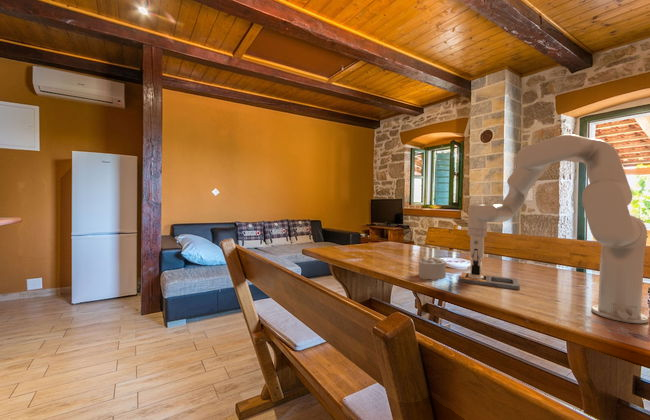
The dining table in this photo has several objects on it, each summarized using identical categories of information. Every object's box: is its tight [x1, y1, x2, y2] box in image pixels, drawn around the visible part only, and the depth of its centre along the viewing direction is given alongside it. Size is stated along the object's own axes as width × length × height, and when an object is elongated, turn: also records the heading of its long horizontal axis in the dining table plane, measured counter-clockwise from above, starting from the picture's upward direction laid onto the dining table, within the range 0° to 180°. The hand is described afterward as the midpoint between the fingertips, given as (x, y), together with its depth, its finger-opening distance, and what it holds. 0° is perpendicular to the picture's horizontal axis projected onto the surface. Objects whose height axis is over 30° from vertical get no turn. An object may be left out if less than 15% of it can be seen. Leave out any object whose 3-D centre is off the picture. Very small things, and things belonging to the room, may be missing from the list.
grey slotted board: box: [459, 271, 521, 291], centre depth 130 cm, size 13×22×2 cm, turn 60°
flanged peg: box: [467, 258, 484, 280], centre depth 132 cm, size 6×6×8 cm
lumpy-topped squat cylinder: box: [418, 256, 447, 281], centre depth 138 cm, size 10×13×9 cm
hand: (475, 272), depth 132 cm, fingers closed on flanged peg, 4 cm apart
